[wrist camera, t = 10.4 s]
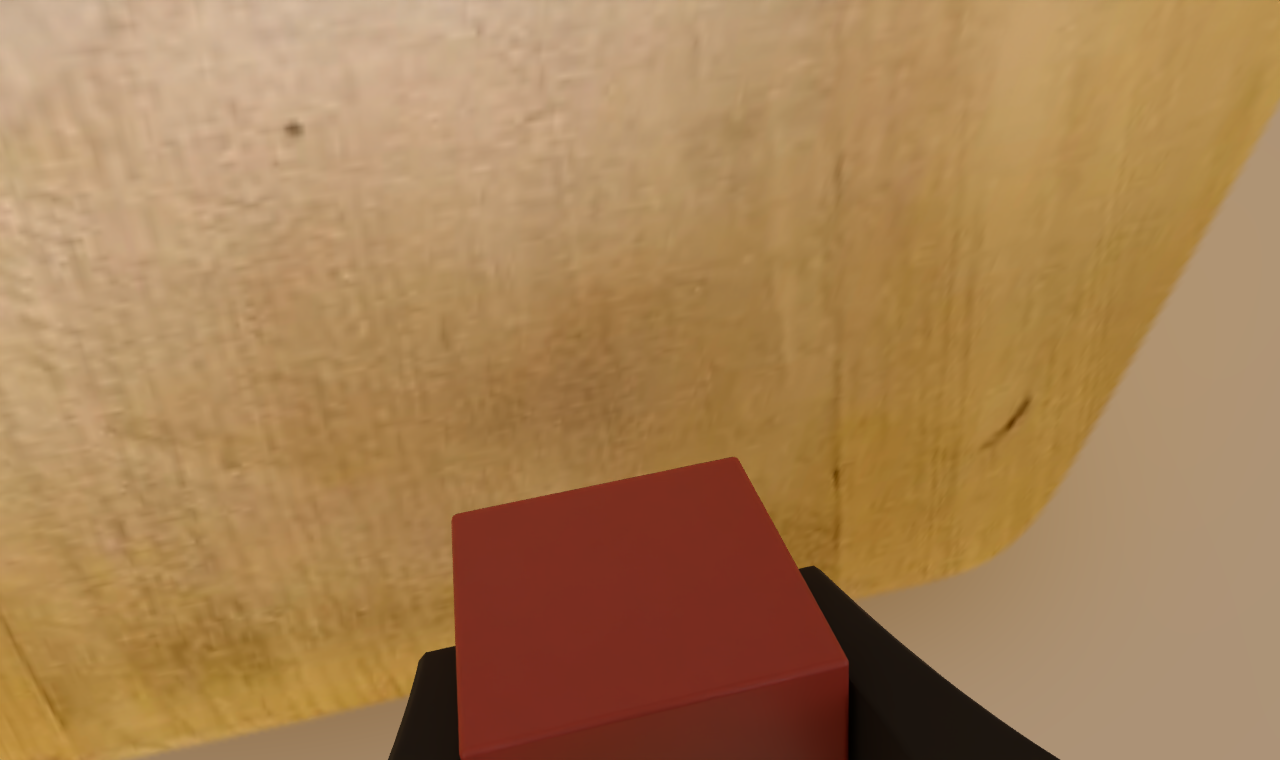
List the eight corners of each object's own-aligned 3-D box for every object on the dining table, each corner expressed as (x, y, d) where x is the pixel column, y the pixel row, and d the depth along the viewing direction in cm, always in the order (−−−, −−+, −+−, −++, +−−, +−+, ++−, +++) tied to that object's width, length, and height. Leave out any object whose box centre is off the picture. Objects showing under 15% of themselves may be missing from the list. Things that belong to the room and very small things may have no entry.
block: (737, 453, 13) (852, 661, 9) (751, 660, 15) (850, 896, 11) (450, 512, 12) (457, 755, 9) (503, 719, 14) (527, 985, 11)
